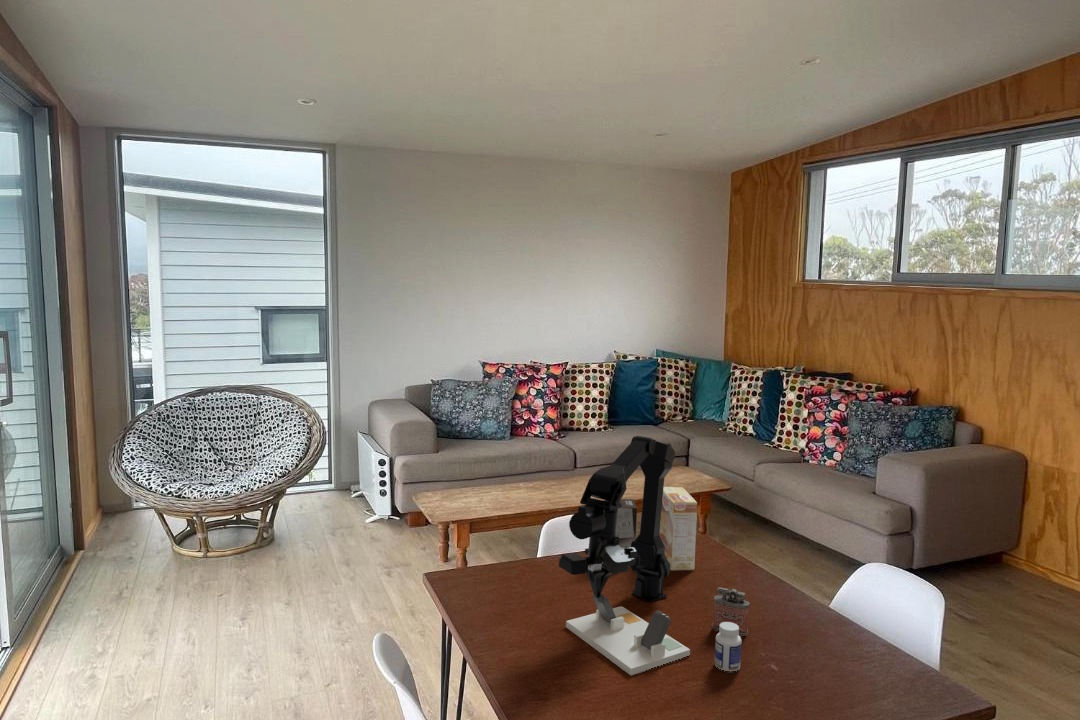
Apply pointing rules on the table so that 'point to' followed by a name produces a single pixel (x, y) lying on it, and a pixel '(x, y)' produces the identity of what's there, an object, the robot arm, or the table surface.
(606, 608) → the breaker lever
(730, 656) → the pill bottle
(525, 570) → the table surface
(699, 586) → the table surface
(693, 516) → the coffeecake box
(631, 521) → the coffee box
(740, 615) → the lighter
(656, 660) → the breaker panel
